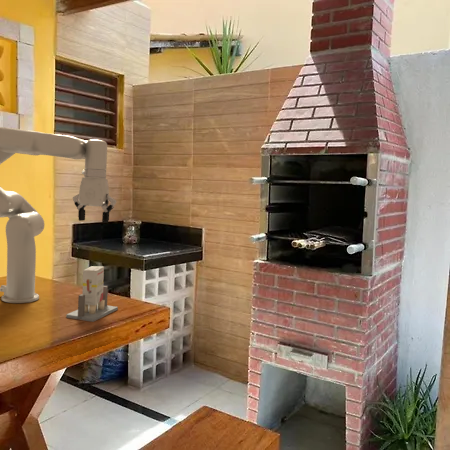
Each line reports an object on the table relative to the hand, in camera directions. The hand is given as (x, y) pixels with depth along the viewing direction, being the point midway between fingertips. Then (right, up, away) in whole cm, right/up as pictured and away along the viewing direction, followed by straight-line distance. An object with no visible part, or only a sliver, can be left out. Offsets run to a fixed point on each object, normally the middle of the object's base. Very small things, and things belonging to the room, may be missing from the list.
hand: (93, 221), depth 168 cm
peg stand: (+3, -32, -10) cm, 33 cm away
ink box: (+3, -28, -10) cm, 30 cm away
